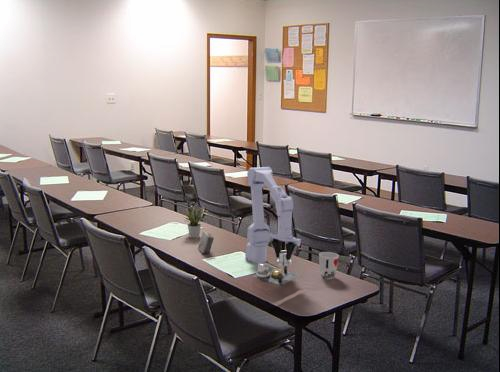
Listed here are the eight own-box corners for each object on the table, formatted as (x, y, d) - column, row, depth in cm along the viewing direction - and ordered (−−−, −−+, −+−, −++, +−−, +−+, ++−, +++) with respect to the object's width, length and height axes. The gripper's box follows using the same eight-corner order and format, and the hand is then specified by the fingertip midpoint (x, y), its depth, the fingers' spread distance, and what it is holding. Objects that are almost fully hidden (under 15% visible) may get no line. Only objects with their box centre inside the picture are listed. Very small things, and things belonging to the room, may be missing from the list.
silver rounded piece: (252, 275, 219) (253, 264, 218) (261, 272, 223) (261, 260, 222) (264, 279, 215) (264, 267, 214) (272, 275, 220) (273, 264, 219)
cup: (322, 281, 218) (324, 258, 216) (315, 274, 225) (316, 252, 223) (340, 279, 220) (341, 257, 218) (332, 273, 228) (333, 251, 226)
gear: (274, 264, 217) (274, 252, 216) (281, 259, 222) (281, 248, 220) (286, 267, 213) (286, 255, 212) (294, 262, 218) (294, 251, 217)
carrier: (251, 278, 219) (252, 269, 218) (273, 269, 230) (273, 260, 229) (280, 288, 209) (281, 278, 209) (301, 278, 221) (302, 268, 220)
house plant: (212, 232, 285) (212, 203, 282) (207, 240, 271) (207, 209, 268) (186, 231, 286) (186, 202, 283) (180, 238, 273) (180, 208, 269)
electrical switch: (197, 248, 258) (199, 230, 256) (207, 248, 259) (209, 230, 258) (202, 254, 249) (204, 235, 247) (212, 254, 250) (214, 235, 249)
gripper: (304, 227, 213) (303, 259, 216) (274, 221, 221) (273, 252, 224) (296, 231, 207) (294, 263, 210) (265, 225, 215) (264, 256, 218)
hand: (283, 258), depth 216 cm, fingers closed on gear, 4 cm apart
